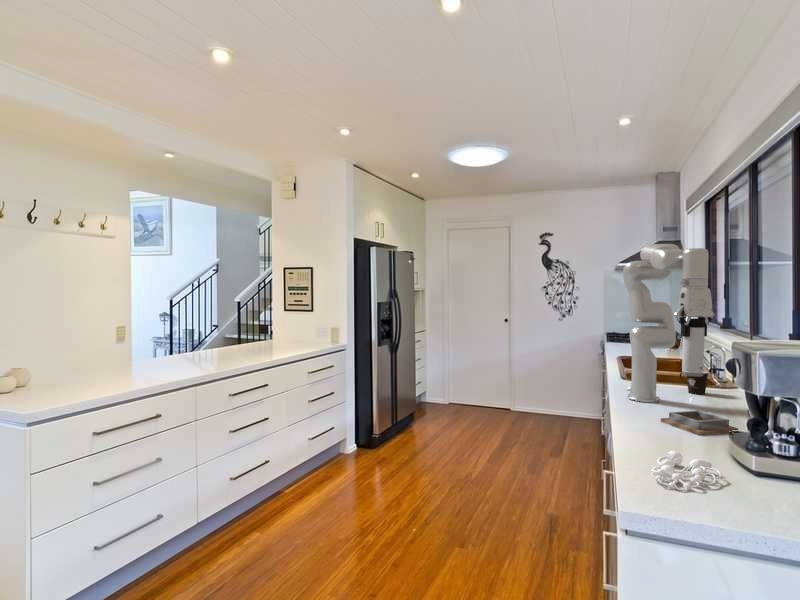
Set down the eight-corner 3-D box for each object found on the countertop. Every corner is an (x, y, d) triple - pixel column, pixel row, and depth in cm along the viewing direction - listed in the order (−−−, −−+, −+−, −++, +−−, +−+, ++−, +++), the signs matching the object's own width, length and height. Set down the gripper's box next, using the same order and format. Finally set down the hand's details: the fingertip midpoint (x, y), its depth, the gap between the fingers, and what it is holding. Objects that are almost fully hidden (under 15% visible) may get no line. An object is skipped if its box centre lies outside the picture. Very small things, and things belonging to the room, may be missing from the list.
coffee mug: (712, 395, 210) (712, 373, 209) (692, 395, 210) (693, 373, 209) (696, 389, 221) (696, 368, 221) (677, 389, 221) (678, 368, 221)
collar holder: (660, 421, 168) (660, 411, 168) (697, 418, 172) (697, 408, 172) (698, 435, 153) (699, 424, 152) (738, 431, 156) (738, 420, 156)
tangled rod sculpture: (702, 505, 106) (703, 488, 106) (636, 480, 117) (637, 464, 117) (726, 479, 119) (728, 464, 119) (665, 459, 130) (666, 445, 130)
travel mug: (707, 377, 159) (709, 318, 158) (685, 376, 160) (687, 317, 159) (700, 373, 165) (701, 317, 164) (679, 372, 166) (680, 316, 166)
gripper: (682, 284, 156) (681, 337, 156) (725, 284, 160) (724, 336, 160) (665, 284, 163) (664, 335, 164) (706, 284, 167) (705, 334, 167)
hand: (693, 335), depth 162 cm, fingers closed on travel mug, 6 cm apart
